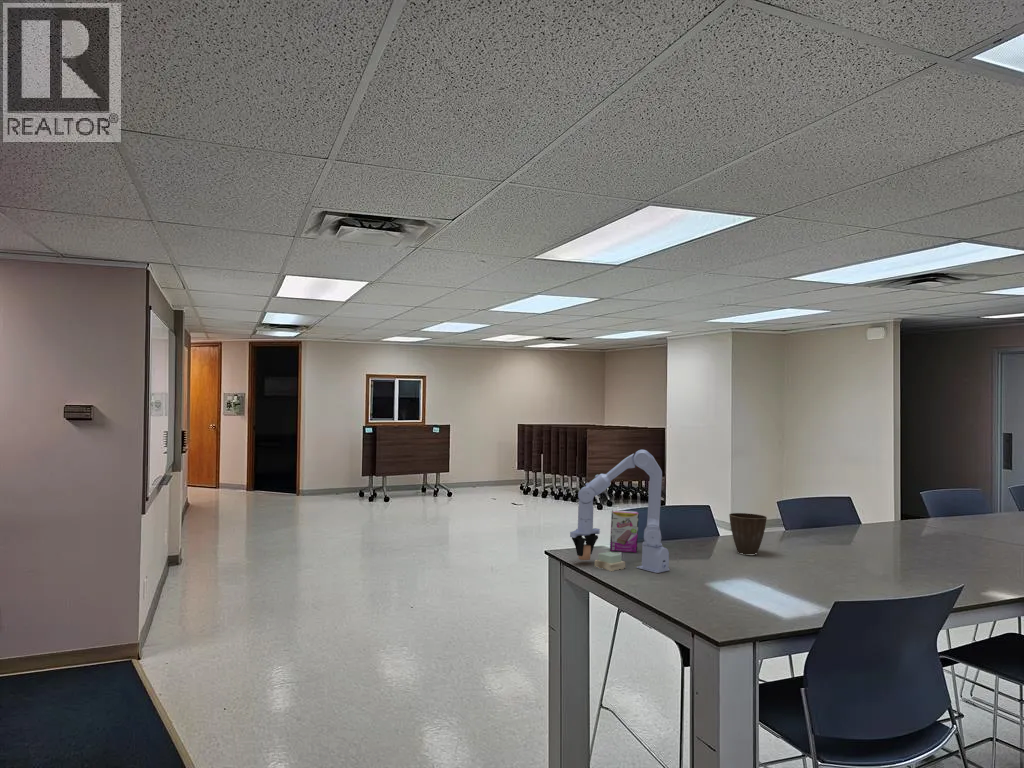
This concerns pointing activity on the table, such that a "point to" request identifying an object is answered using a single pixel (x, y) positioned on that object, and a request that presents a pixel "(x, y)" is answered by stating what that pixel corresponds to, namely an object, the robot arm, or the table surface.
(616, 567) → the tower base
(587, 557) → the terracotta cylinder
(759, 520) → the plant pot
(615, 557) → the tower top
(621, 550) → the candy bar box
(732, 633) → the table surface
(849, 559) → the table surface
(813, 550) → the table surface
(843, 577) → the table surface
